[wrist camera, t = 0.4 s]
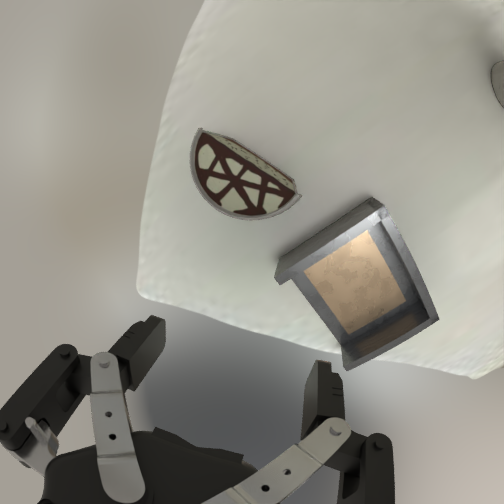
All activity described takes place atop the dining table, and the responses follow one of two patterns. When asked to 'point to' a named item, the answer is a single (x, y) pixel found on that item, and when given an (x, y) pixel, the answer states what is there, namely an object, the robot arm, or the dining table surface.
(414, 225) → the dining table surface
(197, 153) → the food container
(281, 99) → the dining table surface
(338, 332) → the keeper cradle
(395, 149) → the dining table surface
